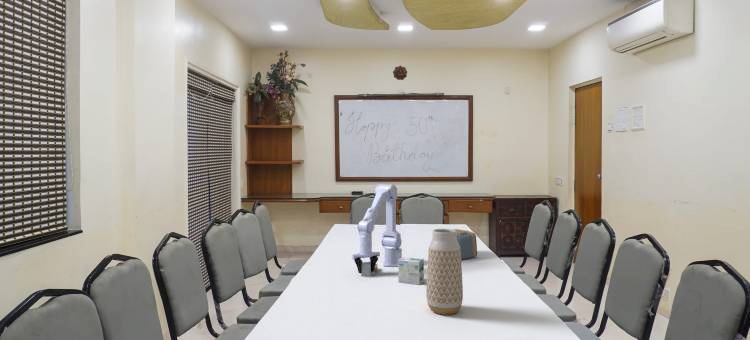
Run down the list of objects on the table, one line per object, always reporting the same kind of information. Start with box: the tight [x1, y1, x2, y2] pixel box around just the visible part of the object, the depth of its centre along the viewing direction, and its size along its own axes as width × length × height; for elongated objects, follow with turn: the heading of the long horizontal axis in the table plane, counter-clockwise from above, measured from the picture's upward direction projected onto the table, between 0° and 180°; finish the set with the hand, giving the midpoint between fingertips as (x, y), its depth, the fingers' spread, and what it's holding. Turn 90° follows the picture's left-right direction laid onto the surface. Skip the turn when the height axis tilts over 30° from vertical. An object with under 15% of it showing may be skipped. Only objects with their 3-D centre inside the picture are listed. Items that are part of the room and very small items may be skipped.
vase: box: [425, 228, 464, 316], centre depth 174 cm, size 14×14×31 cm
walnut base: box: [371, 263, 378, 274], centre depth 234 cm, size 8×8×3 cm
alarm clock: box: [452, 228, 478, 261], centre depth 263 cm, size 16×16×16 cm
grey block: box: [360, 261, 372, 277], centre depth 226 cm, size 4×4×6 cm
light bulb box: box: [397, 256, 425, 286], centre depth 213 cm, size 11×7×11 cm, turn 65°
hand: (366, 272), depth 226 cm, fingers closed on grey block, 6 cm apart
